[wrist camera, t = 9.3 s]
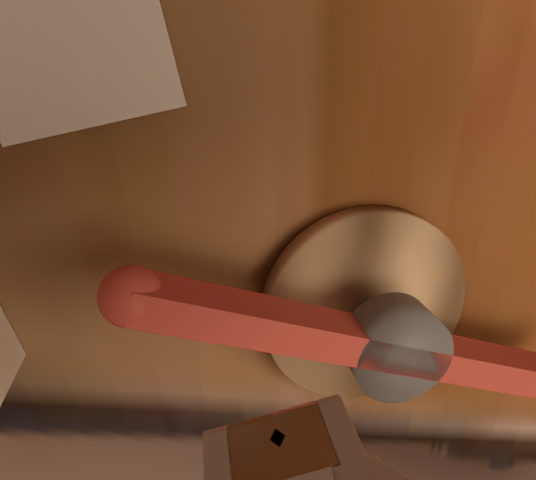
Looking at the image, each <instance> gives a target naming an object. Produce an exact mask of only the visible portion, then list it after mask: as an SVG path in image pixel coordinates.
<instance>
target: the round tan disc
mask: <svg viewBox="0 0 536 480" xmlns="http://www.w3.org/2000/svg"><path fill="white" fill-rule="evenodd" d="M390 292H400V293H406V294H409V295H411V296H413V297H415V298H417V299H418V300H419V301H420V302H421V303H422V304H423V305H424V306H425V307H426V308H427V309H428V310H429V311H430V312H431V313H432V314H433V315H434V316H435V317H436V318H437V319H438V320H439V321H440V322H441V323H442V324H443V325H444V326H445V327H446V328H447V329H448V330H449V332H450V333H451V334H452V333H453V332H454V330H455V328H456V325H457V323H458V321H459V319H460V316H461V313H462V310H463V305H464V301H465V292H466V279H465V272H464V267H463V263H462V261H461V258H460V256H459V253H458V252H457V250H456V248H455V247H454V245H453V243H452V242H451V241H450V240H449V239H448V238H447V237H446V235H445V234H443V233H442V232H441V231H440V230H438V229H437V228H436V227H434V226H433V225H431V224H430V223H428V222H427V221H425V220H424V219H422V218H420V217H419V216H417V215H415V214H413V213H412V212H409V211H406V210H404V209H401V208H397V207H393V206H388V205H361V206H356V207H351V208H347V209H343V210H340V211H337V212H334V213H332V214H330V215H328V216H326V217H323V218H321V219H320V220H318V221H316V222H315V223H313V224H312V225H310V226H308V227H307V228H306V229H305V230H303V231H302V232H301V233H299V234H298V235H297V236H296V237H295V238H294V239H293V240H292V241H291V242H290V243H289V244H288V245H287V246H286V247H285V249H284V250H283V251H282V253H281V254H280V255H279V256H278V258H277V260H276V261H275V263H274V265H273V266H272V268H271V270H270V272H269V275H268V277H267V279H266V282H265V285H264V289H263V292H262V294H266V295H271V296H275V297H280V298H285V299H289V300H294V301H299V302H303V303H308V304H313V305H318V306H322V307H327V308H332V309H336V310H341V311H346V312H350V313H352V312H353V311H354V310H355V309H356V308H357V307H358V306H359V305H361V304H362V303H363V302H365V301H367V300H368V299H370V298H372V297H374V296H377V295H380V294H384V293H390ZM271 355H272V357H273V359H274V361H275V362H276V364H277V365H278V367H279V368H280V370H281V371H282V372H283V373H284V374H285V375H286V376H287V377H288V378H289V379H290V380H291V381H293V382H294V383H296V384H297V385H298V386H300V387H302V388H304V389H306V390H308V391H311V392H313V393H316V394H319V395H324V396H329V397H330V396H333V395H337V394H338V395H339V396H340V397H341V398H347V397H359V396H366V394H365V393H364V392H363V390H362V389H361V387H360V386H359V384H358V382H357V380H356V379H355V377H354V375H353V373H352V372H351V370H350V368H349V366H343V365H337V364H331V363H325V362H320V361H314V360H308V359H302V358H296V357H290V356H284V355H279V354H273V353H271Z"/></svg>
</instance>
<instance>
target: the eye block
mask: <svg viewBox="0 0 536 480" xmlns="http://www.w3.org/2000/svg"><path fill="white" fill-rule="evenodd" d="M25 355H26V353H25V351H24V349H23V347H22V346H21V344H20V342H19V340H18V338H17V336H16V334H15V332H14V331H13V329H12V327H11V325H10V323H9V321H8V319H7V318H6V316H5V314H4V312H3V310H2V308H1V306H0V406H1V404H2V402H3V400H4V398H5V396H6V394H7V392H8V390H9V388H10V386H11V384H12V382H13V380H14V378H15V376H16V374H17V372H18V370H19V368H20V366H21V364H22V361H23V359H24V357H25Z"/></svg>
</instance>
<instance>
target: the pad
mask: <svg viewBox="0 0 536 480" xmlns="http://www.w3.org/2000/svg"><path fill="white" fill-rule="evenodd" d="M185 106H187V104H186V101H185V97H184V93H183V89H182V85H181V81H180V78H179V74H178V70H177V66H176V62H175V58H174V55H173V51H172V47H171V43H170V39H169V35H168V32H167V28H166V24H165V20H164V16H163V12H162V9H161V5H160V1H159V0H0V143H1V145H2V147H6V146H10V145H15V144H19V143H24V142H28V141H33V140H37V139H42V138H46V137H51V136H55V135H60V134H64V133H68V132H73V131H77V130H82V129H86V128H91V127H95V126H100V125H104V124H109V123H113V122H118V121H122V120H127V119H131V118H135V117H140V116H144V115H149V114H153V113H158V112H162V111H167V110H171V109H176V108H180V107H185Z"/></svg>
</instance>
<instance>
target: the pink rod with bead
mask: <svg viewBox="0 0 536 480" xmlns="http://www.w3.org/2000/svg"><path fill="white" fill-rule="evenodd" d="M97 301H98V306H99V309H100V311H101V313H102V315H103V316H104V317H105V318H106V319H107V320H108V321H109V322H110V323H112V324H113V325H116V326H118V327H122V328H126V329H132V330H138V331H144V332H150V333H156V334H161V335H167V336H173V337H179V338H185V339H191V340H197V341H202V342H208V343H214V344H220V345H226V346H232V347H238V348H243V349H249V350H255V351H261V352H267V353H273V354H279V355H284V356H290V357H296V358H302V359H308V360H314V361H320V362H325V363H331V364H337V365H343V366H349V368H350V370H351V372H352V373H353V375H354V377H355V379H356V380H357V382H358V384H359V386H360V387H361V389H362V390H363V392H364V393H365V394H366V395H368V396H369V397H371V398H372V399H374V400H377V401H380V402H385V403H398V402H404V401H408V400H411V399H413V398H416V397H418V396H420V395H422V394H423V393H425V392H427V391H428V390H429V389H431V388H432V387H433V386H434V385H436V384H437V383H438V382H443V383H448V384H454V385H460V386H466V387H472V388H478V389H484V390H489V391H495V392H501V393H507V394H513V395H519V396H525V397H530V398H536V352H532V351H528V350H523V349H518V348H514V347H509V346H504V345H500V344H495V343H490V342H486V341H481V340H476V339H472V338H467V337H462V336H458V335H453V334H451V333H450V332H449V330H448V329H447V328H446V327H445V326H444V325H443V324H442V323H441V322H440V321H439V320H438V319H437V318H436V317H435V316H434V315H433V314H432V313H431V312H430V311H429V310H428V309H427V308H426V307H425V306H424V305H423V304H422V303H421V302H420V301H419V300H418V299H417V298H415V297H413V296H411V295H409V294H406V293H400V292H390V293H384V294H380V295H377V296H374V297H372V298H370V299H368V300H367V301H365V302H363V303H362V304H361V305H359V306H358V307H357V308H356V309H355V310H354V311H353V312H352V313H350V312H346V311H341V310H336V309H332V308H327V307H322V306H318V305H313V304H308V303H303V302H299V301H294V300H289V299H285V298H280V297H275V296H271V295H266V294H261V293H257V292H252V291H247V290H243V289H238V288H233V287H229V286H224V285H219V284H215V283H210V282H205V281H201V280H196V279H191V278H187V277H182V276H177V275H173V274H168V273H163V272H159V271H154V270H149V269H147V268H145V267H143V266H139V265H124V266H120V267H118V268H116V269H114V270H112V271H111V272H110V273H108V274H107V275H106V276H105V278H104V279H103V280H102V282H101V284H100V286H99V289H98V294H97Z"/></svg>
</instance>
